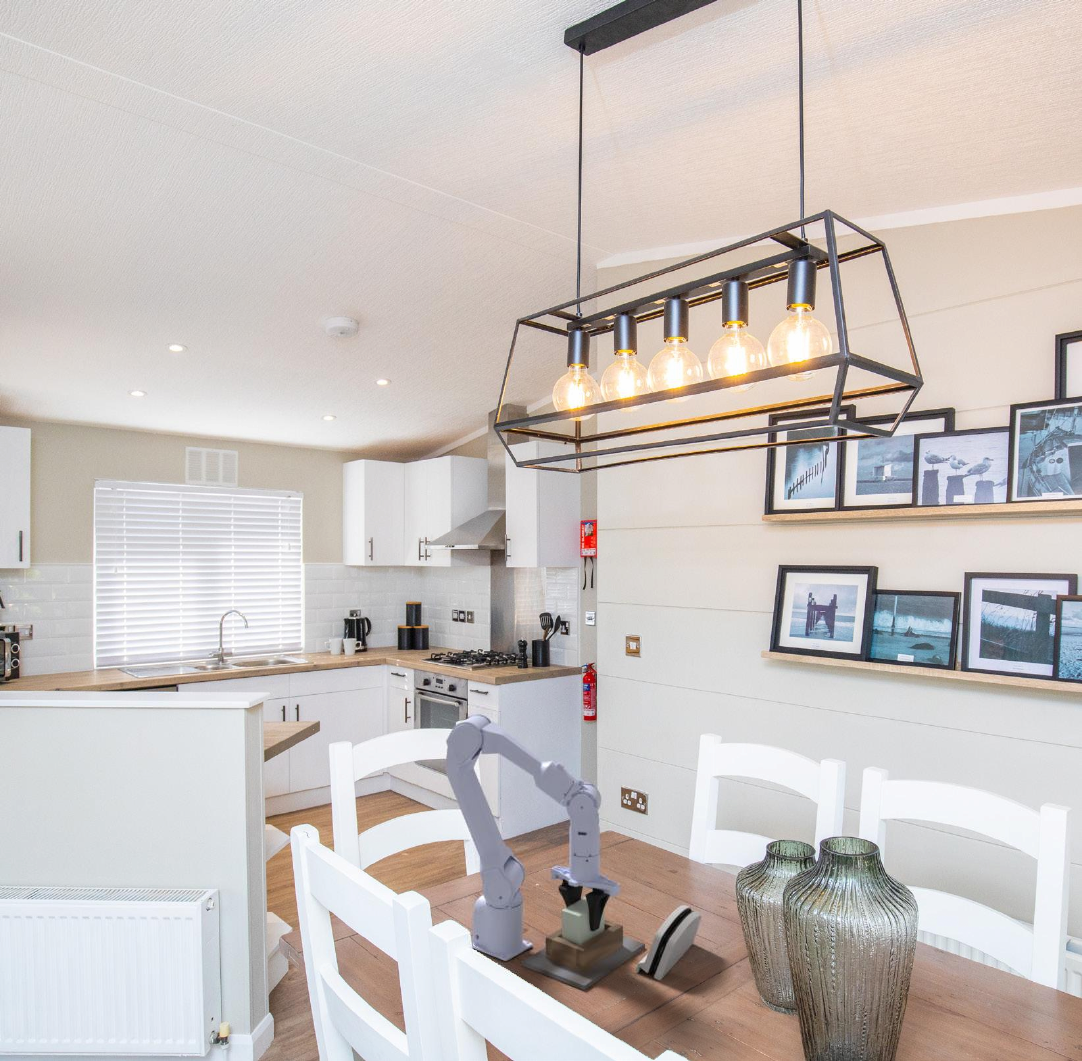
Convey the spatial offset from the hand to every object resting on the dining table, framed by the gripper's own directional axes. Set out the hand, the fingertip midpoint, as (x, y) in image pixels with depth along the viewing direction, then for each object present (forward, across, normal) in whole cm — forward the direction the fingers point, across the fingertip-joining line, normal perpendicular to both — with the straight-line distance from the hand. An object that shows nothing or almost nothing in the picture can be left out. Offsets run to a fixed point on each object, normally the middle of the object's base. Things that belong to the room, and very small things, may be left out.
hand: (584, 925), depth 150 cm
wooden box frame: (+6, 0, 0) cm, 6 cm away
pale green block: (+2, 0, 0) cm, 2 cm away
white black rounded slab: (+6, +13, +9) cm, 17 cm away
